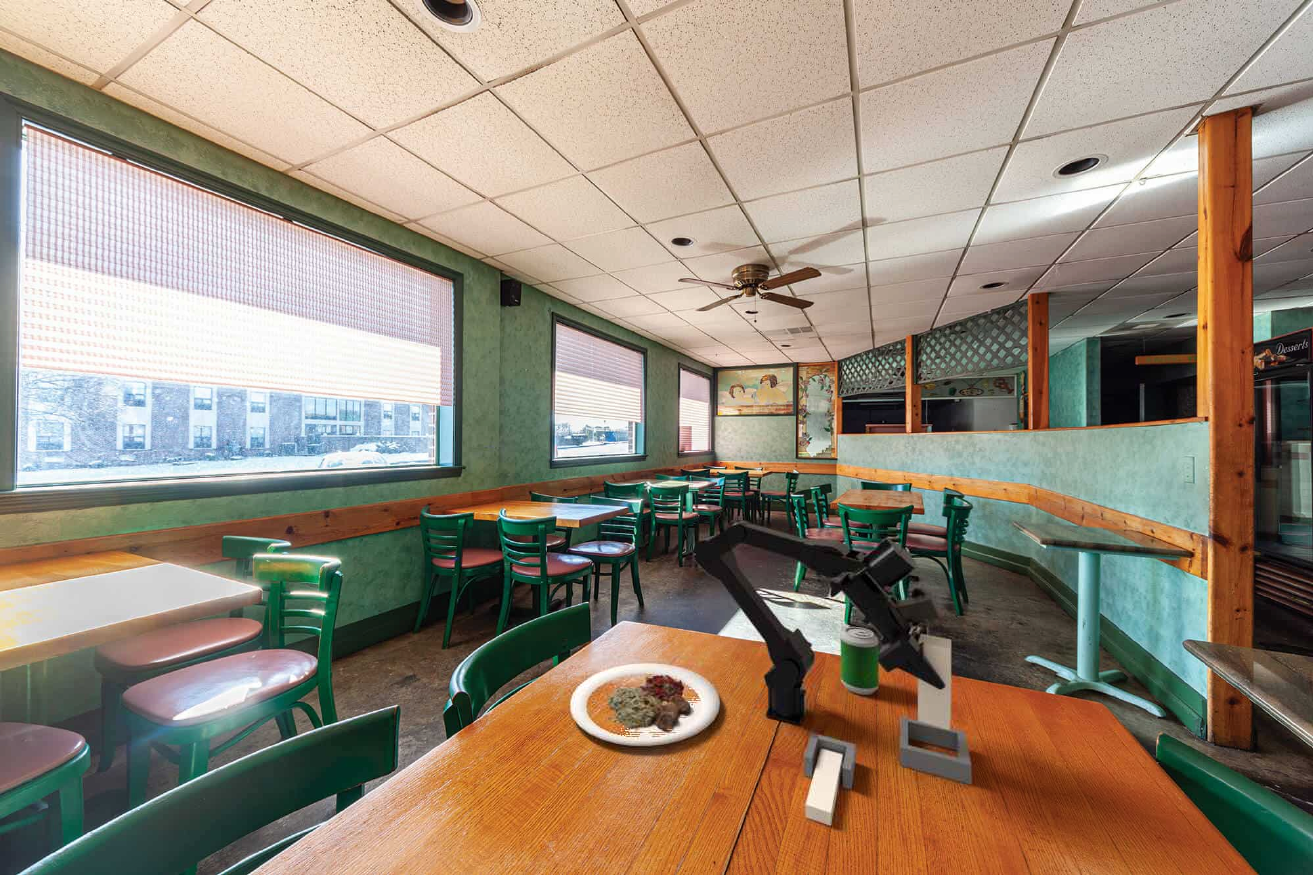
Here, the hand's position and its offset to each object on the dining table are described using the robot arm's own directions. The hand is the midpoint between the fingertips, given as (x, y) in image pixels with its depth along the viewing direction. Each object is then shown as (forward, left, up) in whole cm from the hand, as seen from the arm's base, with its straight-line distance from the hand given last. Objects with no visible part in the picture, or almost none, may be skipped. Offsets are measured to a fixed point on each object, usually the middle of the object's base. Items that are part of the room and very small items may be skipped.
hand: (944, 681), depth 80 cm
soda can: (-15, +20, -14) cm, 28 cm away
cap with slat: (-17, -15, -13) cm, 26 cm away
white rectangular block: (-1, 0, -7) cm, 7 cm away
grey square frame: (-2, +1, -13) cm, 13 cm away
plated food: (-53, -7, -14) cm, 55 cm away
